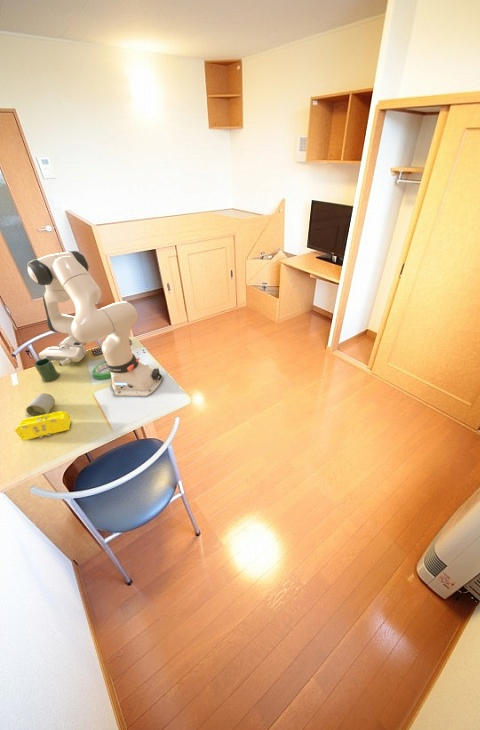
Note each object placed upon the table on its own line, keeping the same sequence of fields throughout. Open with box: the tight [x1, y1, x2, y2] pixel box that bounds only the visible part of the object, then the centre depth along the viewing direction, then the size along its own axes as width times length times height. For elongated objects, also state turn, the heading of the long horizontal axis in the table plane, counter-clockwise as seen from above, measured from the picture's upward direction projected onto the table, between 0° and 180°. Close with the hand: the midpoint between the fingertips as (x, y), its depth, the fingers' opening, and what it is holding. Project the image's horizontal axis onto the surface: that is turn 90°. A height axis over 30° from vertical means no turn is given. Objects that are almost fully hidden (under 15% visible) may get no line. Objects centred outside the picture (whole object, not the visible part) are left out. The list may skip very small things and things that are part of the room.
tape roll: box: [92, 361, 111, 380], centre depth 145 cm, size 11×11×3 cm
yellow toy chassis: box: [14, 410, 72, 441], centre depth 114 cm, size 16×6×8 cm, turn 110°
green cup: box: [33, 358, 59, 383], centre depth 139 cm, size 6×6×10 cm
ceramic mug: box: [25, 393, 56, 417], centre depth 122 cm, size 11×8×8 cm
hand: (51, 364), depth 142 cm, fingers open, 8 cm apart
